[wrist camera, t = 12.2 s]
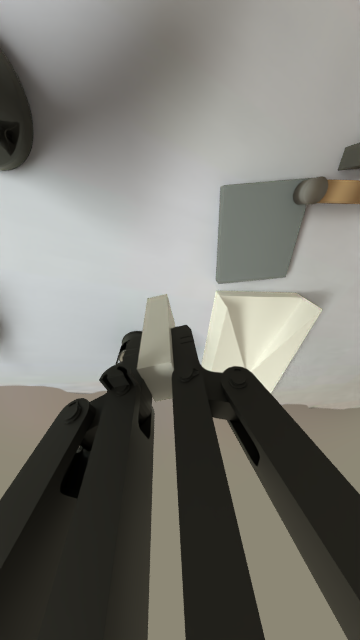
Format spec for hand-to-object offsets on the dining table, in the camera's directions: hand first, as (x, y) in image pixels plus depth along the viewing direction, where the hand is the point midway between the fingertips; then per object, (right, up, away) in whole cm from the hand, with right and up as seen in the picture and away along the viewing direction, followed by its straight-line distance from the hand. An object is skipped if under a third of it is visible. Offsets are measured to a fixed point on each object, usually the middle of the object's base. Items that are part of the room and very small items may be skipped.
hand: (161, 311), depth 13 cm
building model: (+20, -12, +43) cm, 49 cm away
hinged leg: (+31, +23, +17) cm, 42 cm away
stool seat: (+18, +17, +23) cm, 34 cm away
